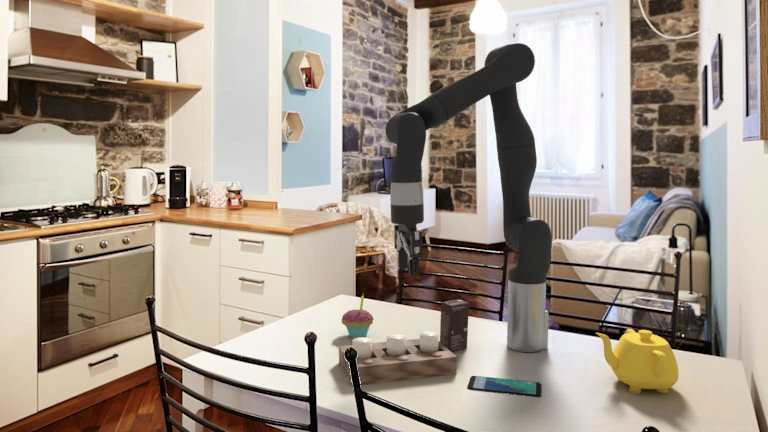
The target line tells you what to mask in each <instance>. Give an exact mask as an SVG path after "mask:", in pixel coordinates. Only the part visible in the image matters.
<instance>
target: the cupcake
mask: <svg viewBox="0 0 768 432" xmlns="http://www.w3.org/2000/svg"><path fill="white" fill-rule="evenodd" d="M364 294H365V293H364V292H363V293H362V295H361V298H360V305H359V309H351V310H350V309H349V310H347V312H345V313H344V314H343V315H342V317H341V324H342V325H344V326H345V328H346V330H347V333H348V336H349V337H350V338H352V337H353V339H355V338H359V337H365V336H366V337H367V336H368V332H369V330H370V326H371V325H372V324H373V321H374V317H373V315H372V313H371V312H369V311H368V310H365V309H363V307H364Z"/></svg>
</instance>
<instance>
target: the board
mask: <svg viewBox="0 0 768 432" xmlns="http://www.w3.org/2000/svg"><path fill="white" fill-rule="evenodd" d="M349 347H352V344H349V345H338V362H339V365H340V367H341V368H343V369H342V370H344V371H343V372H345V373H344V374H345V376H346V375H347V376H346V378H347V377H348V378H347V380H348V379H349V380H348V382H349V381H350V382H351V375H350V368H349V364H348V362H347V361H346V360H345V358H344V351H345V350H346V349H347V348H349ZM457 359H458V357H457V355H455V353H453V351H450V350H449V349H447V348H446V347H445V346H444V345H443V344H442V343H441V342H440V341H439V352H429V353H421V352H420V338H413V339H406V355H400V356H390V357H388V356H387V341H382V342H372V358H370V359H360V360H357V367H358V372H359V377H360V381H361V385H362V386H363V385H370V384H371V385H372V384H380V383H389V382H397V381H405V380H406V381H407V380H415V379H423V378H433V377H442V376H450V375H457V373H458V372H457V371H458V370H457V368H458V367H457V363H458V362H457V361H458V360H457ZM350 382H349V383H350ZM361 385H360V386H361ZM350 386H352V382H351V384H350ZM352 387H353V386H352Z"/></svg>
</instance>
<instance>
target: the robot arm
mask: <svg viewBox="0 0 768 432" xmlns="http://www.w3.org/2000/svg"><path fill="white" fill-rule="evenodd" d="M535 64H536V59H535V54H534V52H533V50H532V48H530V46H528V45H526V44H525V43H522V42H510V43H507V44H505V45H502V46H499V47H496V48H493V49H492V50H490V51H489V52H488V54H487V55H486V57H485V60H484V66H483V67H482V68H480V69H477V70H476V71H474V72H473V73H471V74H469V75H466V76H464V77H462V78H459V79H457V80H456V81H453V82H452V83H449V84H447V85H445V86H444V87H442V88H440V89H438V90H437V91H435V92H433V93H432V94H431V95H429V96H427V97H426V98H424V99H423V100H422V101H420V102H418V103H415V104H413V105H411V106H409V107H407V108H406V109H402V110H401V111H399V112H398V113H396V114H393V116H391V117H390V118H389V119H388V121H387V123H386V125H385V129H384V130H385V136H386V138H387V139H388V140H389V141H390V142H391V143H392V144H395V145H396V152H395V156H393V158H391V162H390V192H389V193H390V194H389V196H390V197H389V198H390V222H391V223H392V224H393V225H394V227H393V229H394V230H393V231H394V235H393V236H394V237H393V238H394V239H393V240H394V245H393V248H394V249H395V250H396V253H397V265H398V269H399V270H407V269H408V276H410V277H419V276H420V260H421V259H423V258H424V248H423V247H424V246H423V245H424V244H423V243H424V241H423V231H422V230H418V227H417V225H418V224H422V223H423V222H424V221H425V217H424V216H425V212H424V211H425V209H424V207H425V205H424V201H425V200H424V188H423V170H422V168H423V167H422V161H423V158H424V153H425V152H424V151H425V147H426V141H427V140H426V139H427V131H428V130H430V129H433V128H437V127H440V126H441V125H443V124H445V123H447V122H448V121H450V120H452V119H454V118H455V117H456V116H458V115H459V114H461V113H462V112H464V111H465V110H467V109H469V108H471V107H472V106H473V105H474V104H477V103H478V102H480V101H481V100H483V99H485V98H486V97H488V96H489V98H490V103H491V109H492V115H493V123H494V124H493V125H494V126H493V127H494V131H495V141H496V150H497V151H496V152H497V162H498V167H499V174H500V184H501V193H502V216H503V218H502V225H503V226H502V227H503V230H502V231H503V236H504V237H503V239H504V241H505V243H506V245H507V246H508V248H509V249H511V250H512V251H514V252H518V254H517V263H516V264H515V266H512V267H510V268H509V270H508V280H507V282H508V287H507V288H508V289H507V294H508V295H507V326H506V327H507V333H506V335H507V336H506V346H507V347H508V348H509V349H511V350H514V351H517V352H523V353H537V352H541V351H543V350H545V349H548V348H549V347H548V346H549V343H548V342H549V320H550V319H549V316H550V315H549V311H548V310H546V301H547V300H546V299H547V296H546V295H547V291H546V290H547V277H548V276H547V275H548V273H549V271H550V268H551V258H552V257H551V256H552V246H553V238H552V237H553V236H552V230H551V228H550V225H549V224H548V223H547V222H546V221H545V220H544V219H541V218H537V217H532V213H531V206H530V205H531V204H530V189H531V186H532V184H533V183H532V182H533V181H534V177H535V173H536V169H537V165H538V164H537V162H538V161H537V159H538V158H537V151H536V150H537V149H536V138H535V136H534V133H533V130H532V128H531V126H530V124H529V122H528V121H527V119H526V116H524V114H523V111H522V110H521V106H520V103H519V101H518V100H519V99H518V92H517V83H521V82H522V81H523V82H524V81H525V80H526V79H527V78H528V77H530V75H531V74H532V73H533V71H534V68H535V66H536V65H535Z"/></svg>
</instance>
